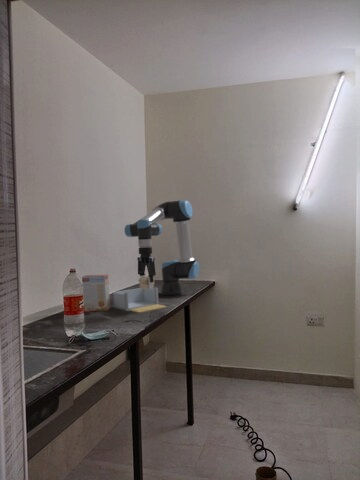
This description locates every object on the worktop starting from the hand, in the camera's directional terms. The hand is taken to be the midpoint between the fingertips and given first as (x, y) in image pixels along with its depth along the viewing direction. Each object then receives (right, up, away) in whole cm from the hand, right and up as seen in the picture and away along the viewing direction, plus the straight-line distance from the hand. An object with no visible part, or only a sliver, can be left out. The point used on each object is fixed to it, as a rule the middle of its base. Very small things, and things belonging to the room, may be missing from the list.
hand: (147, 287), depth 220 cm
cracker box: (-29, -15, +5) cm, 33 cm away
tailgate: (-3, -12, +4) cm, 13 cm away
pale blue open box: (-8, -13, +10) cm, 18 cm away
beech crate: (0, 0, 0) cm, 0 cm away
